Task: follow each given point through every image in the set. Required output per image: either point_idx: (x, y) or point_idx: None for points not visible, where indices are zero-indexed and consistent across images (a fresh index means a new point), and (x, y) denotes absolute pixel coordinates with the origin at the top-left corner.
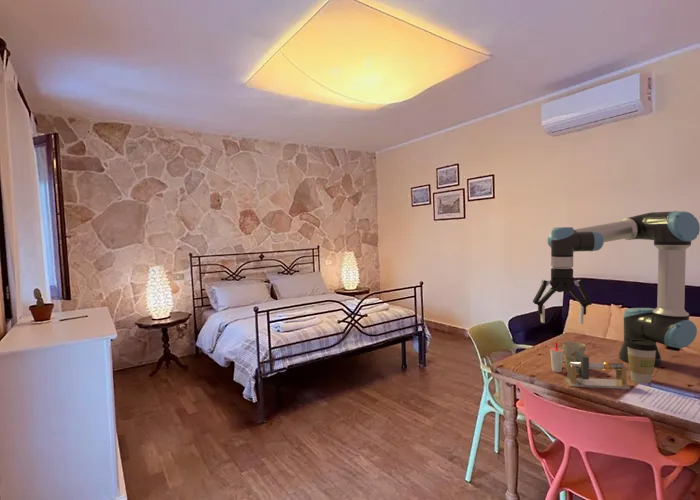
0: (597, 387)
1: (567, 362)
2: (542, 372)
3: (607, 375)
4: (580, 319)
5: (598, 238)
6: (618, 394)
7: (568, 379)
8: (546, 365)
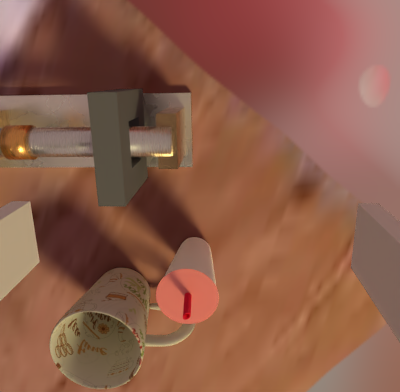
0: None
1: (144, 292)
2: (253, 230)
3: None
4: (13, 233)
5: None
6: (40, 33)
7: (185, 140)
8: None
